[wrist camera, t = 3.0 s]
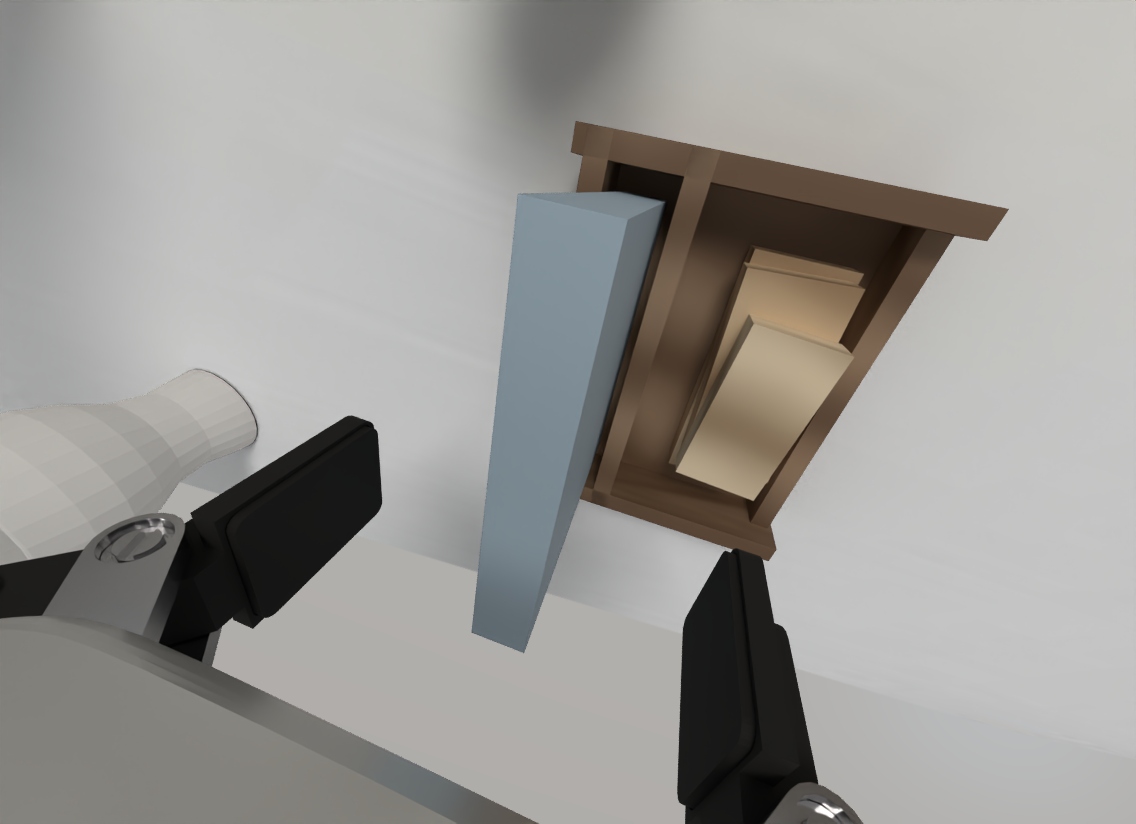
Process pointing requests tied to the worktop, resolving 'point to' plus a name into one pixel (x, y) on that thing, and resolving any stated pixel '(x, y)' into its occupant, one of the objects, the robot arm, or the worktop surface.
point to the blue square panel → (555, 386)
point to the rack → (703, 288)
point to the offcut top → (759, 405)
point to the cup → (108, 460)
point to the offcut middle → (781, 311)
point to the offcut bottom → (754, 257)
